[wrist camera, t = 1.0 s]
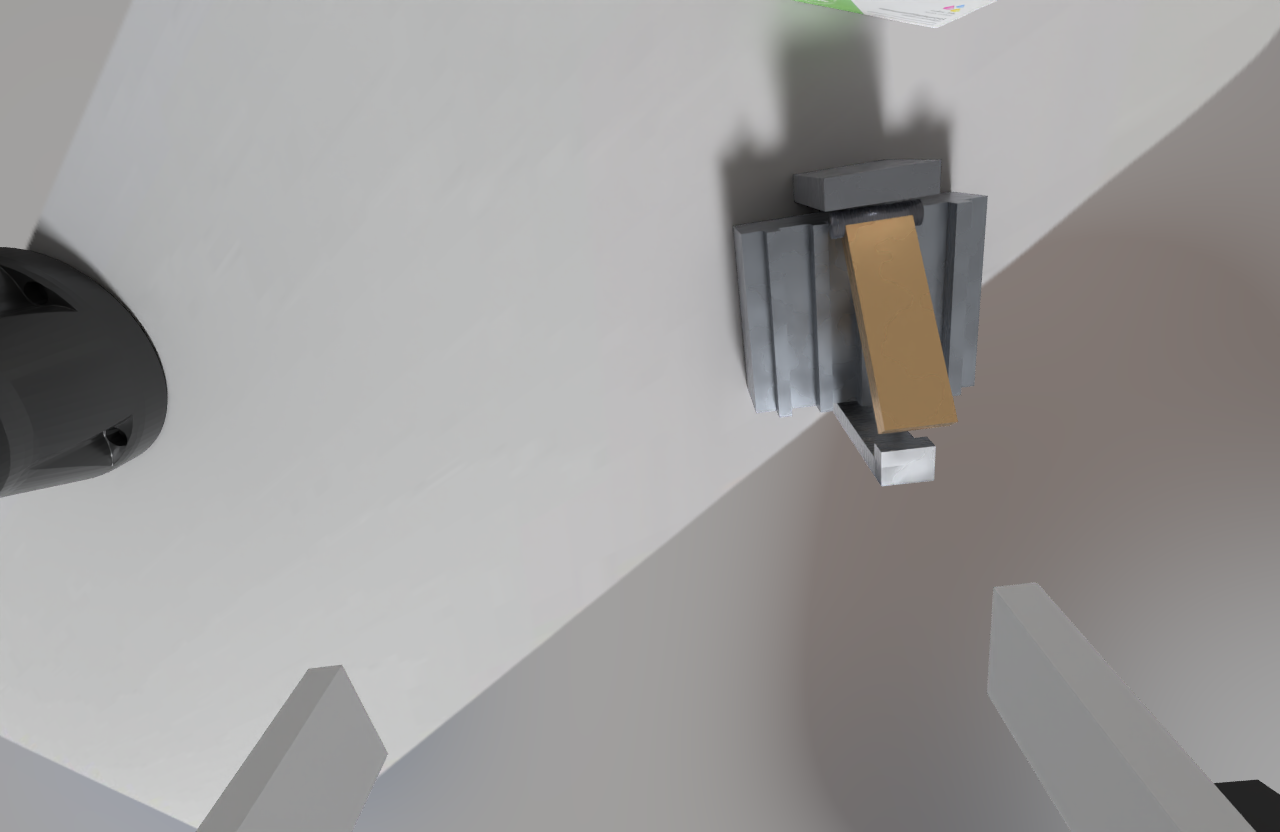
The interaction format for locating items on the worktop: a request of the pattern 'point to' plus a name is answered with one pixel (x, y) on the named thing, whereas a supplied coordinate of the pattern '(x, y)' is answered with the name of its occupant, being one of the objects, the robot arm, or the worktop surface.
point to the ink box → (908, 9)
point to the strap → (895, 316)
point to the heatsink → (824, 309)
